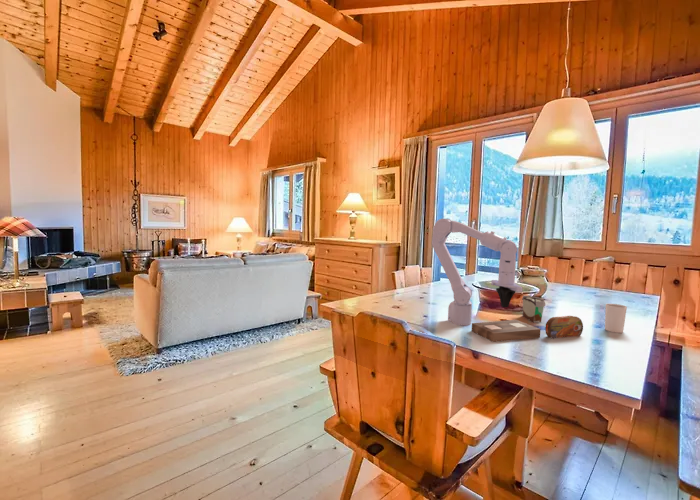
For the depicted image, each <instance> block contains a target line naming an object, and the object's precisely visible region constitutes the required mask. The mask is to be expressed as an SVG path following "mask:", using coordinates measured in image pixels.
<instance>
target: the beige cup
mask: <svg viewBox="0 0 700 500" xmlns="http://www.w3.org/2000/svg"><path fill="white" fill-rule="evenodd" d="M627 308H628V307H627V306H626V305H623V304H617V303H605V311H604V313H605V315H604V316H605V317H604V318H605V319H604V330H606V331H607V332H610V333H611V332H612V333H619V334H620V333H621V334H622V333H624V330H625V323H626V322H625V321H626V315H627V314H626V313H627Z"/></svg>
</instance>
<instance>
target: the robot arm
mask: <svg viewBox="0 0 700 500" xmlns="http://www.w3.org/2000/svg"><path fill="white" fill-rule="evenodd" d="M451 233H461V234H462V235H463V234H464V235H465V236H469V237H471V238H473V239H475V240H479V243H480V244H481V246H484V247H486V248H488V249H491V250H493V251H494V252H500V258H499V263H498V277H497V278H498V279H492V280H490V281H491V282H490V284H491V286H496V287H498V288H495V291H496V292H497V295H498V298H499V300H500V305H501V307H502V308H509V305H510V303H511V300H512V298H513V296H514V295H515V294H516V293H522V292H523V286H520V285H518V284H517V282H516V267H517V266H516V264H517V260H516V258H517V255H516V254H517V253H518V247H517V245H516V243H515V242H514V241H512V240H511V239H508V238H507V237H503V236H500V235H498V234H496V233H495V231H485V232H482V231H480V230H478V229H475V228H473V227H472V226H468V225H467V224H464V223H462V222H459V221H457V220H452V219H450V218H440V219H438V220H437V221H436V222H435V223H434V225H433V228H432V236H431V245H432V249H433V250H434V252H435V253H436V256H437V258H438V260H439V263H440V264H441V267H442V269H443V271H444V273H445V275H446V277H447V279H448V281H449V283H450V287H451V290H452V293H453V301H451V302H449V304H448V308H447V309H448V310H447V320H445V321H446V322H449V321H450V322H451V323H452V324H454V325H457V326H472V311H473V302H472V301H471V297H472V295H473V291H472V289H471V287H469V286H468V285H467V284H466V282H465V280H464V279H463V278H462V276H461V274H460V272H459V269H458V267H457V265H456V263H455V262H454V260H453V257H452V255H451V253H450V251H449V249H448V247H447V245H446V241H447V240H448V236H450V235H451Z"/></svg>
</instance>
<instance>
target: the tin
mask: <svg viewBox="0 0 700 500" xmlns="http://www.w3.org/2000/svg"><path fill="white" fill-rule="evenodd" d="M544 330H545V335H546V336H547V337H548V338H550V339H552V340H554V339H560V338H572V337H581V335H582V334H583V330H584V324H583V321H582V319H581V318H580V317H578V316H576V315H575V316H574V315H564V316H563V315H562V316H553V317H550V318H548V320H547V321H546V323H545V327H544Z"/></svg>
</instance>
